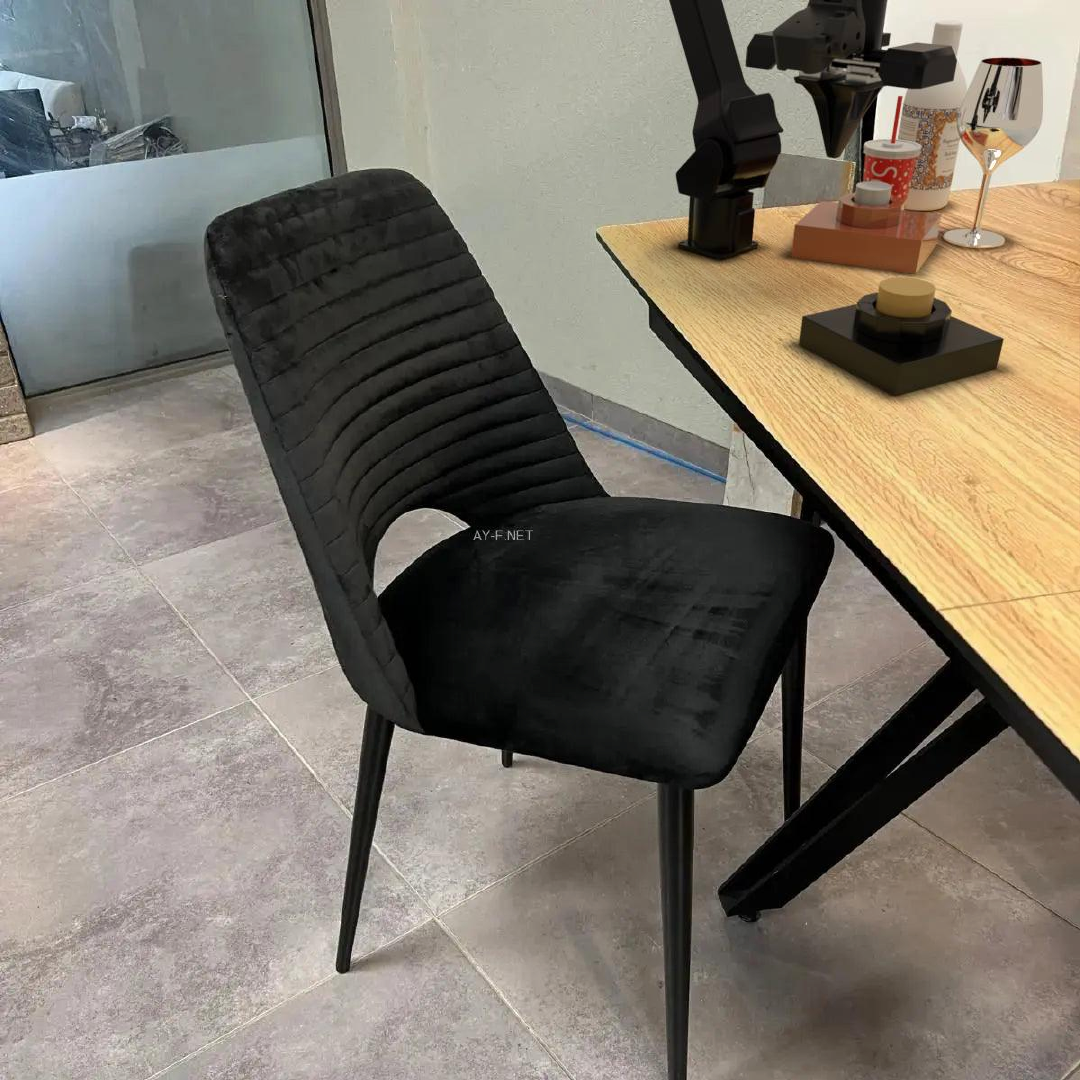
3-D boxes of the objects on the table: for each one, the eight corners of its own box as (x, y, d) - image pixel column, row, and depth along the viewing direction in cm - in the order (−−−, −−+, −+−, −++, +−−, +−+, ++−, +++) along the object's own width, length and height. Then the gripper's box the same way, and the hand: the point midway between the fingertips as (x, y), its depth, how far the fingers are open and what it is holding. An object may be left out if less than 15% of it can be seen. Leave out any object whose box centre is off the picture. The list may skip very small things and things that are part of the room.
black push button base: (798, 345, 90) (804, 295, 87) (895, 322, 94) (903, 274, 91) (894, 397, 81) (903, 343, 78) (997, 369, 85) (1009, 317, 82)
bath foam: (921, 215, 121) (954, 28, 110) (875, 202, 126) (903, 22, 115) (959, 205, 124) (995, 22, 113) (913, 193, 129) (943, 16, 118)
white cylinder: (849, 206, 107) (852, 187, 106) (858, 198, 110) (861, 179, 109) (884, 210, 106) (887, 191, 105) (892, 202, 108) (895, 183, 107)
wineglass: (925, 229, 117) (957, 56, 107) (998, 228, 117) (1037, 54, 107) (947, 251, 110) (983, 69, 100) (1024, 250, 110) (1068, 67, 100)
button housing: (791, 257, 110) (796, 205, 107) (817, 231, 117) (823, 182, 114) (915, 274, 104) (925, 220, 101) (935, 246, 112) (945, 195, 109)
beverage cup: (841, 225, 119) (859, 96, 111) (874, 215, 122) (894, 88, 114) (884, 238, 114) (906, 104, 107) (918, 227, 118) (942, 96, 110)
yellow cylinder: (864, 307, 86) (868, 282, 85) (904, 298, 88) (908, 273, 86) (901, 324, 83) (905, 299, 81) (942, 314, 84) (947, 289, 83)
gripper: (712, -29, 90) (701, 156, 98) (900, -18, 78) (869, 192, 87) (791, -38, 96) (774, 137, 104) (976, -29, 84) (940, 168, 93)
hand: (833, 157), depth 97 cm, fingers closed
